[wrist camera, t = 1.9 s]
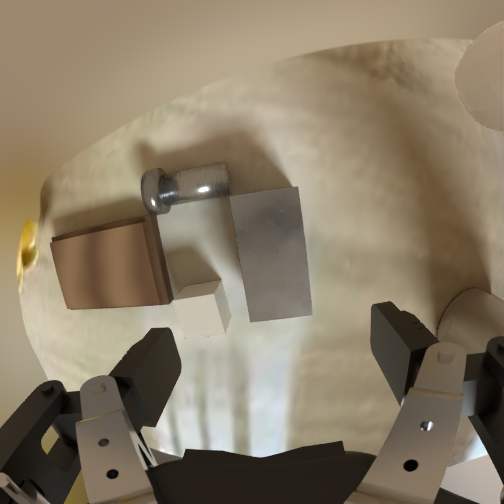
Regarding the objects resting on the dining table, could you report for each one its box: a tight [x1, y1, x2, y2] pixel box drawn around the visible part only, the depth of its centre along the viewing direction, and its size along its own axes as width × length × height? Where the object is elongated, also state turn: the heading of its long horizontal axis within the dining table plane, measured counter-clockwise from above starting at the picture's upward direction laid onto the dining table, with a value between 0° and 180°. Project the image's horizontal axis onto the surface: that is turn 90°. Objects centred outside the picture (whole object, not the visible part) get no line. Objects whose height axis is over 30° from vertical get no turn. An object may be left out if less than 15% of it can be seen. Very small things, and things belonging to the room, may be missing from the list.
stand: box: [50, 215, 174, 310], centre depth 28 cm, size 14×9×2 cm, turn 99°
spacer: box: [172, 280, 231, 339], centre depth 27 cm, size 4×4×4 cm
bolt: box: [141, 162, 232, 216], centre depth 24 cm, size 7×4×4 cm, turn 99°
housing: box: [229, 187, 312, 322], centre depth 24 cm, size 5×10×6 cm, turn 9°
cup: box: [455, 20, 504, 132], centre depth 13 cm, size 7×7×21 cm
